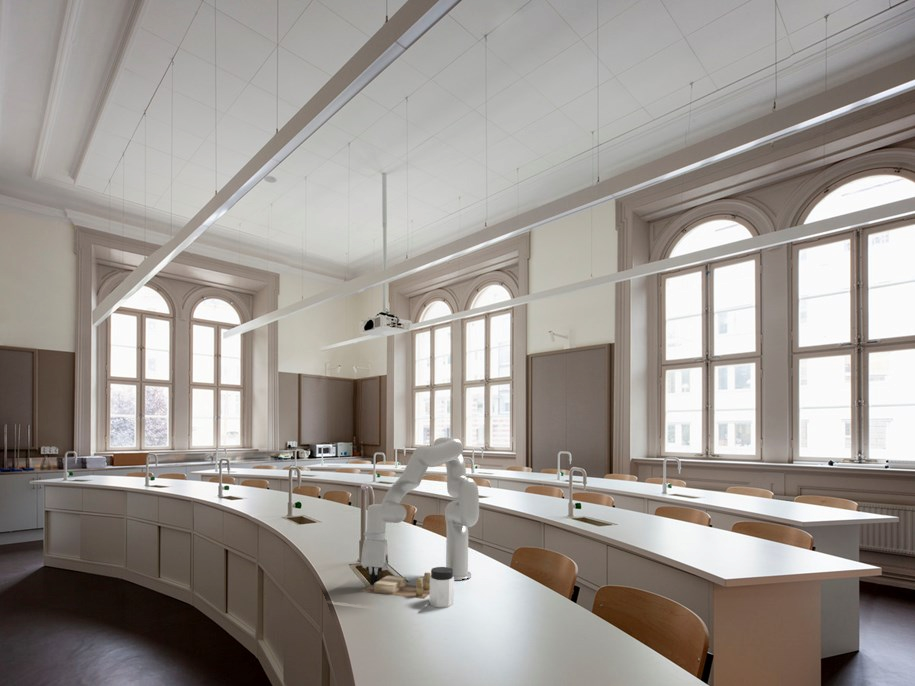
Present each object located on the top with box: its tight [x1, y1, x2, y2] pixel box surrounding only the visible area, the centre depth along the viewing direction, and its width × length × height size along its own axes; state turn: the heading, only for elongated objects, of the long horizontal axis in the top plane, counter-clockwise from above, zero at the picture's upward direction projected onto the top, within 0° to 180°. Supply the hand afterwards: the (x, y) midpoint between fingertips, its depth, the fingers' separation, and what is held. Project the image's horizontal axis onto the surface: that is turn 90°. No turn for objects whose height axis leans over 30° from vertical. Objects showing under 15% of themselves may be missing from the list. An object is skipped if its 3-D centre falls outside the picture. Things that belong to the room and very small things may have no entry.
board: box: [361, 572, 431, 600], centre depth 215 cm, size 14×26×7 cm, turn 72°
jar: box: [428, 566, 455, 608], centre depth 202 cm, size 9×8×12 cm
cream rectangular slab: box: [374, 575, 407, 595], centre depth 216 cm, size 12×8×3 cm, turn 162°
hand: (374, 584), depth 218 cm, fingers closed
